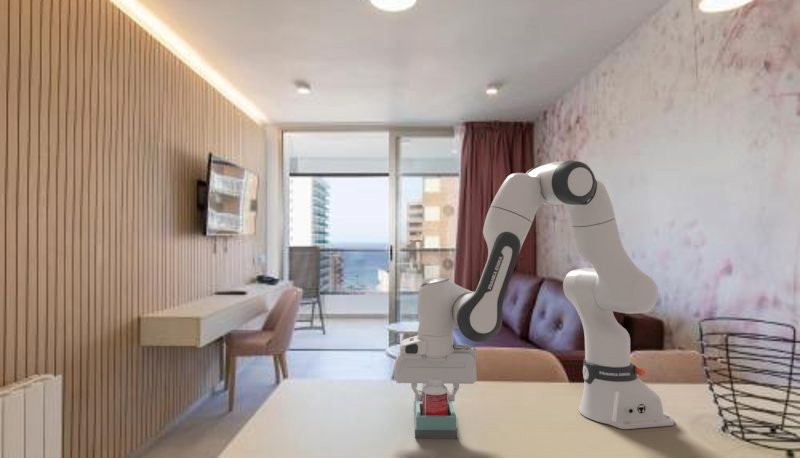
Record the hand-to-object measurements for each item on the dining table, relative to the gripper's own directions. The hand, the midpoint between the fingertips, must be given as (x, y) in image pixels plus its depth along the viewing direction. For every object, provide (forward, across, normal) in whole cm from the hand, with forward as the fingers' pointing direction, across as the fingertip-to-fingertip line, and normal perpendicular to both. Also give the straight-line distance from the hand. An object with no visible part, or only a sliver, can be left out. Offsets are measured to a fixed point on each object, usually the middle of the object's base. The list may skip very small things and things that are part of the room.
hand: (434, 400), depth 110 cm
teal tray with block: (+7, 0, -5) cm, 9 cm away
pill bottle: (+5, 0, 0) cm, 5 cm away
